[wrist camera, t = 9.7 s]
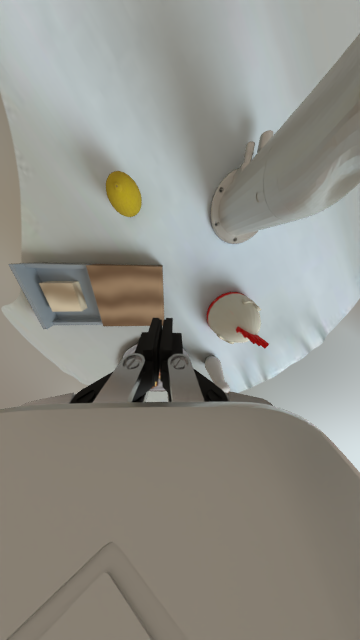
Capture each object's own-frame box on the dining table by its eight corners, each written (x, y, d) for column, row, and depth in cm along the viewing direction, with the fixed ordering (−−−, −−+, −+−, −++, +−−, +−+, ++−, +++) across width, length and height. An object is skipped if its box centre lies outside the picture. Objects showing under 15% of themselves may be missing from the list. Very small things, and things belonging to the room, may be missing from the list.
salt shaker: (216, 352, 47) (232, 384, 35) (219, 362, 49) (235, 395, 38) (201, 356, 47) (212, 389, 36) (205, 367, 50) (216, 401, 38)
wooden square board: (95, 264, 31) (85, 265, 27) (162, 265, 32) (161, 267, 28) (109, 319, 38) (103, 326, 34) (164, 318, 39) (163, 325, 35)
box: (32, 262, 30) (8, 264, 25) (95, 264, 31) (83, 265, 26) (58, 320, 36) (43, 329, 32) (109, 319, 38) (101, 328, 33)
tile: (71, 283, 29) (78, 281, 31) (38, 283, 29) (48, 281, 31) (82, 311, 32) (87, 307, 35) (52, 311, 32) (60, 307, 34)
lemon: (113, 186, 25) (91, 159, 18) (141, 185, 25) (131, 158, 18) (121, 221, 27) (104, 210, 20) (146, 220, 28) (139, 208, 21)
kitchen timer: (232, 337, 44) (259, 373, 31) (198, 323, 41) (212, 357, 27) (259, 303, 39) (306, 328, 26) (223, 283, 35) (256, 301, 22)
